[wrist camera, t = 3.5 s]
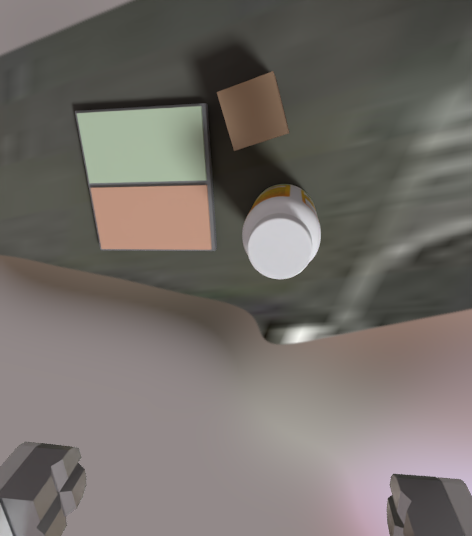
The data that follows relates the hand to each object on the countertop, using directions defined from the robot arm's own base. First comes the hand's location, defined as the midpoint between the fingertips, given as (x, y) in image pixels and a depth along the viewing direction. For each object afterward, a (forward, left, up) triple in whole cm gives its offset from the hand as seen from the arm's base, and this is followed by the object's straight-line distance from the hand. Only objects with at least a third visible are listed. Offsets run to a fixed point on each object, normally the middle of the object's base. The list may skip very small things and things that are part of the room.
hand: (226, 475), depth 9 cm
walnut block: (+1, -10, -24) cm, 26 cm away
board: (+11, -5, -24) cm, 27 cm away
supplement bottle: (-1, -2, -24) cm, 24 cm away
